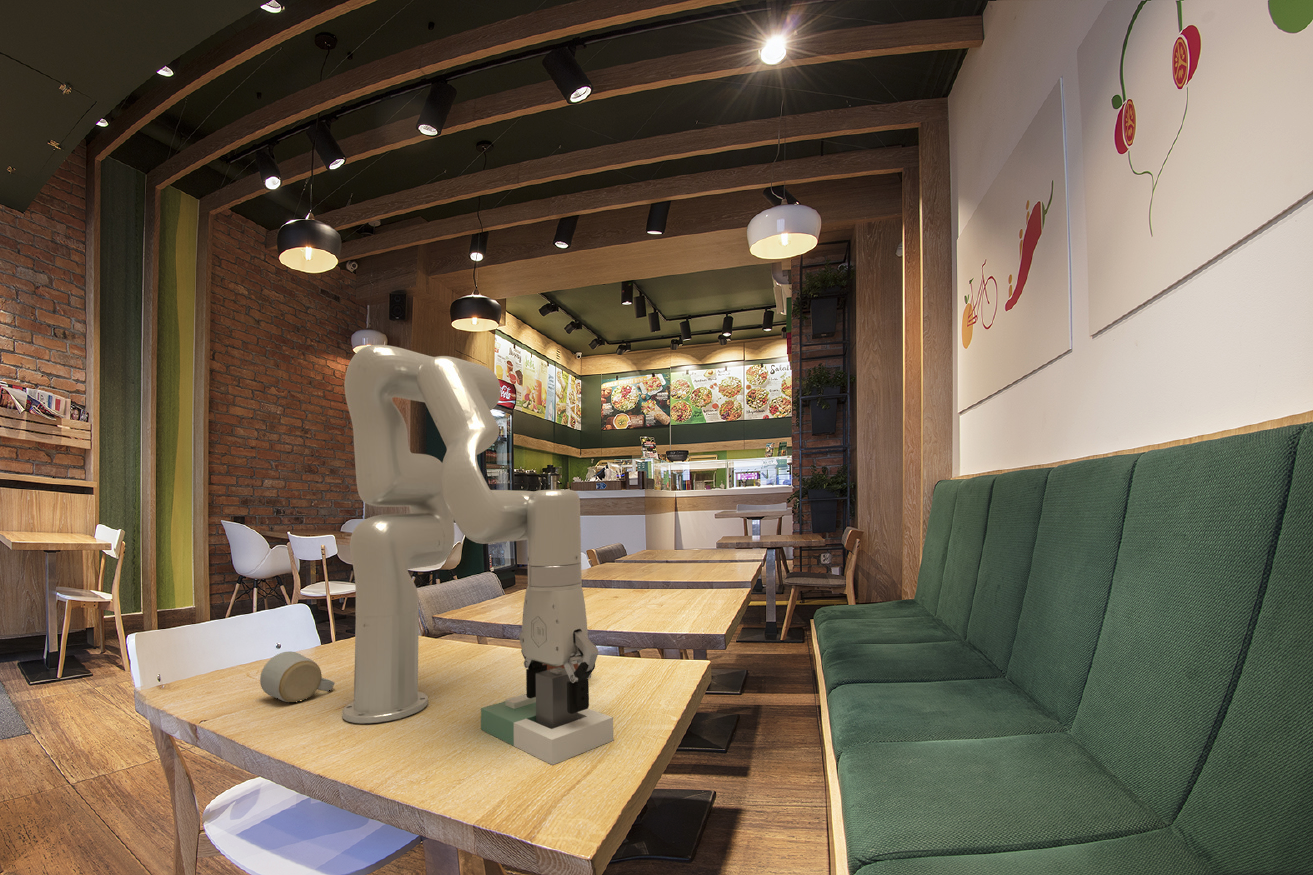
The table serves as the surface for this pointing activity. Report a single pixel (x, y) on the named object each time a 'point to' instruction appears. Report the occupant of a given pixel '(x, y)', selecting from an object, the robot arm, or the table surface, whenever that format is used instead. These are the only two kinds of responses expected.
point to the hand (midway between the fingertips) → (556, 702)
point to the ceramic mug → (292, 677)
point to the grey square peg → (552, 698)
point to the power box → (545, 730)
